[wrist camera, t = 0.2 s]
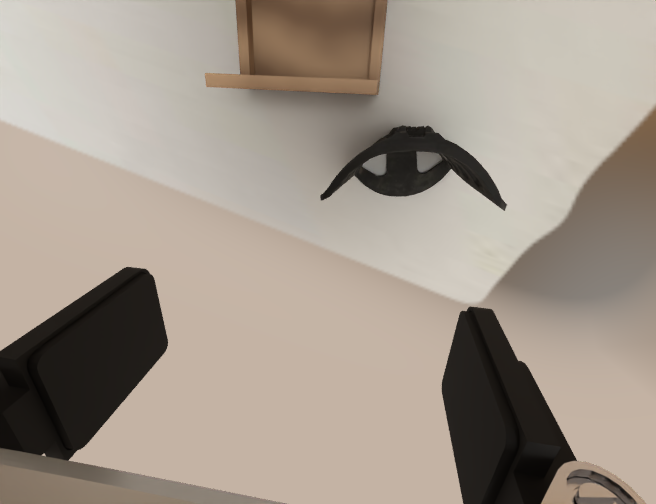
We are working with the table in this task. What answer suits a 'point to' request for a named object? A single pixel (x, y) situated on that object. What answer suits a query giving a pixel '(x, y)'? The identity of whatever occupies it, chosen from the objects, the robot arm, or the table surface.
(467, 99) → the table surface
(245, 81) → the cradle
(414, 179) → the holder
